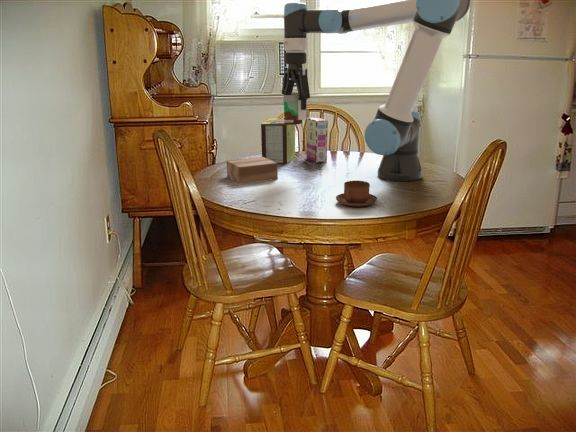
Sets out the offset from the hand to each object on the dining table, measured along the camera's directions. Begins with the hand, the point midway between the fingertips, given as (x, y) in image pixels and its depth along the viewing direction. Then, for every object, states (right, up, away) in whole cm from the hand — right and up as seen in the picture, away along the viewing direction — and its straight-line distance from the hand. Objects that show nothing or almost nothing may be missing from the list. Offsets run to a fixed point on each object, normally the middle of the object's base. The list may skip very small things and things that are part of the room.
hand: (295, 117), depth 200 cm
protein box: (-6, -12, +30) cm, 33 cm away
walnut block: (-15, -21, 0) cm, 26 cm away
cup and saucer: (+17, -31, -31) cm, 48 cm away
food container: (0, -2, -1) cm, 3 cm away
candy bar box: (+9, -12, +29) cm, 32 cm away
